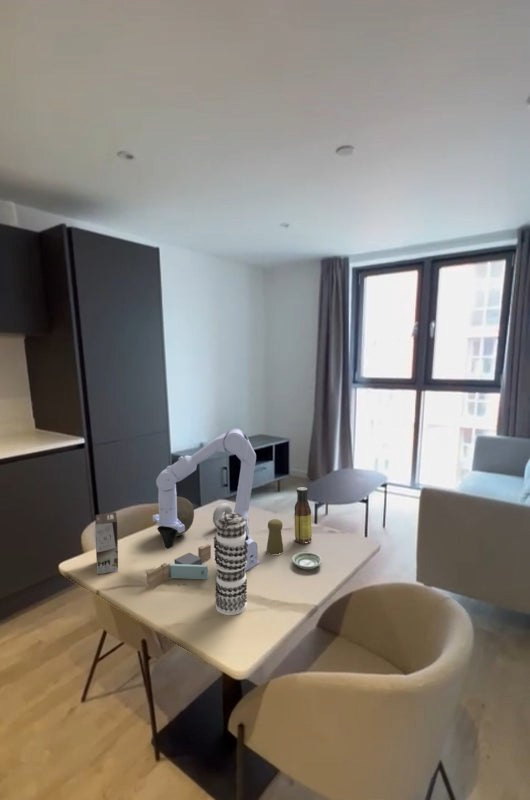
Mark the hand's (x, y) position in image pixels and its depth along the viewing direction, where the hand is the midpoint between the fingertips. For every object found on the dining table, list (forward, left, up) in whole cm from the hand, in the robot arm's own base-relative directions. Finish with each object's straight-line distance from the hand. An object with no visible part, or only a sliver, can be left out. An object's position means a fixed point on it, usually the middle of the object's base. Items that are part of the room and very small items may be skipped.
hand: (168, 547), depth 126 cm
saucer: (-35, -28, -6) cm, 45 cm away
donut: (+7, -31, -6) cm, 33 cm away
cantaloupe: (+15, -14, -6) cm, 22 cm away
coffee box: (+14, +14, -6) cm, 20 cm away
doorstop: (-8, -1, -6) cm, 10 cm away
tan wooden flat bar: (-7, 0, -6) cm, 9 cm away
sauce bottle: (-24, -42, -6) cm, 49 cm away
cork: (-21, -29, -6) cm, 37 cm away
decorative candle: (-31, +3, -6) cm, 32 cm away
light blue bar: (-12, +2, -6) cm, 13 cm away
